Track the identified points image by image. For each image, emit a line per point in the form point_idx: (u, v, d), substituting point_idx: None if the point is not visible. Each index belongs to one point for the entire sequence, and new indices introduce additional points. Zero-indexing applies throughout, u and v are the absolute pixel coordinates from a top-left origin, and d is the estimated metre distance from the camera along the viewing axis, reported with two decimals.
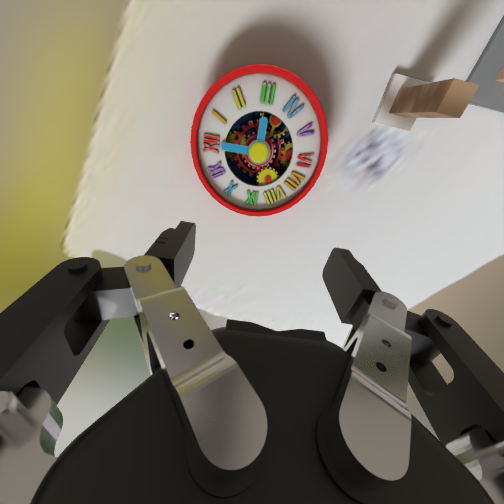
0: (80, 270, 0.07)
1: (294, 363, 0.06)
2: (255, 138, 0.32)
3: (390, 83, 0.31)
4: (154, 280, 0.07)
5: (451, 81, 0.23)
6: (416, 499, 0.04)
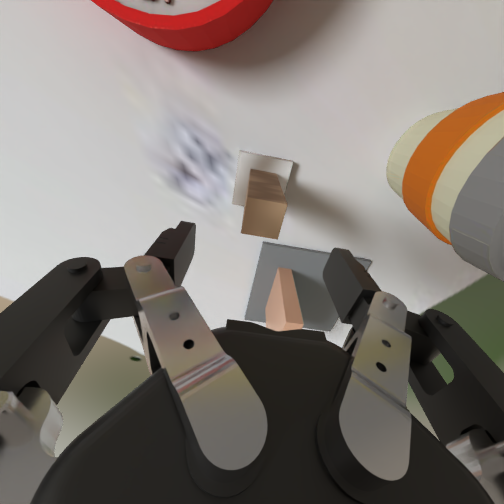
0: (80, 270, 0.07)
1: (294, 363, 0.06)
2: None
3: (282, 160, 0.24)
4: (154, 280, 0.07)
5: (283, 203, 0.16)
6: (416, 499, 0.04)
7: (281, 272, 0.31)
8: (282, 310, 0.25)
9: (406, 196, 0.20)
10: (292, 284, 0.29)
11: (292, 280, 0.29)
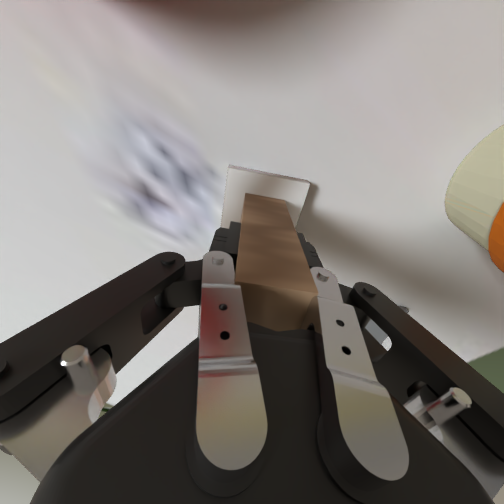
0: (172, 263, 0.08)
1: (294, 363, 0.06)
2: None
3: (294, 180, 0.15)
4: (232, 272, 0.08)
5: (310, 288, 0.08)
6: (416, 499, 0.04)
7: None
8: None
9: (500, 246, 0.12)
10: None
11: None
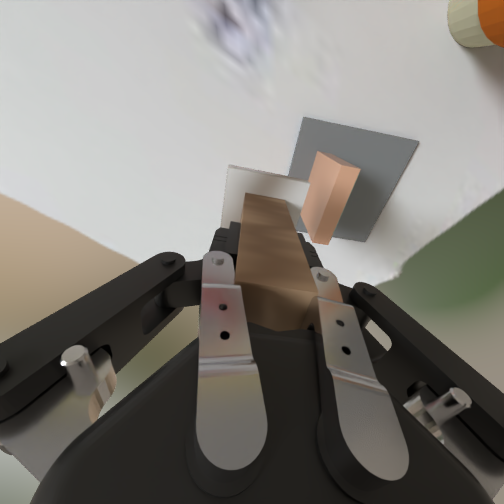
0: (172, 263, 0.08)
1: (294, 363, 0.06)
2: None
3: (294, 179, 0.15)
4: (232, 272, 0.08)
5: (310, 287, 0.08)
6: (416, 499, 0.04)
7: (322, 152, 0.28)
8: (332, 167, 0.23)
9: None
10: (337, 157, 0.27)
11: (335, 156, 0.27)
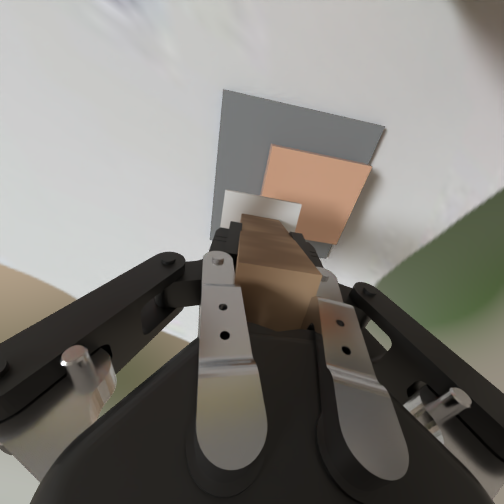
0: (172, 263, 0.08)
1: (294, 363, 0.06)
2: None
3: (287, 201, 0.17)
4: (232, 272, 0.08)
5: (313, 272, 0.08)
6: (416, 499, 0.04)
7: (284, 147, 0.20)
8: (347, 169, 0.21)
9: None
10: (303, 150, 0.22)
11: (296, 149, 0.22)
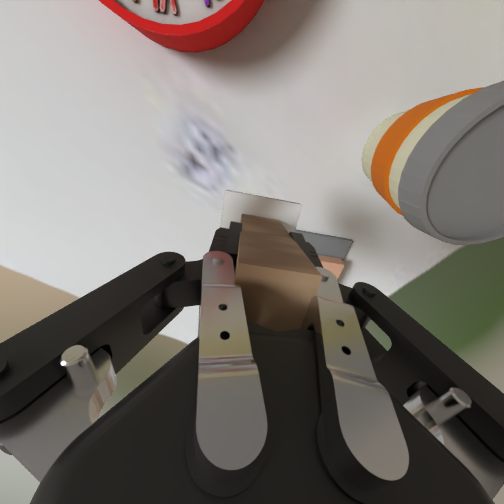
0: (172, 263, 0.08)
1: (294, 363, 0.06)
2: None
3: (287, 202, 0.17)
4: (232, 272, 0.08)
5: (313, 272, 0.08)
6: (416, 499, 0.04)
7: None
8: (330, 266, 0.36)
9: (373, 180, 0.25)
10: None
11: None
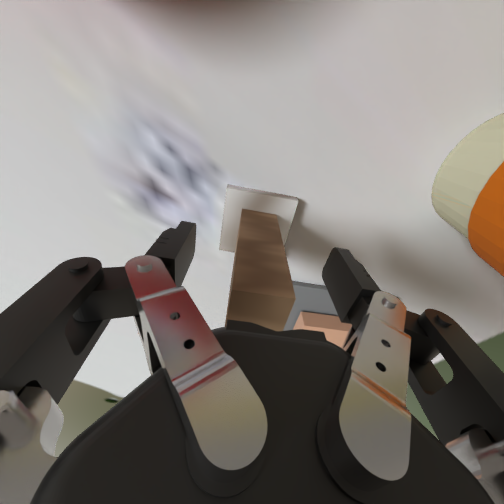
0: (81, 270, 0.07)
1: (294, 363, 0.06)
2: None
3: (285, 197, 0.18)
4: (155, 280, 0.07)
5: (290, 294, 0.10)
6: (416, 499, 0.04)
7: (313, 324, 0.23)
8: None
9: (478, 233, 0.14)
10: (329, 316, 0.25)
11: (323, 315, 0.25)
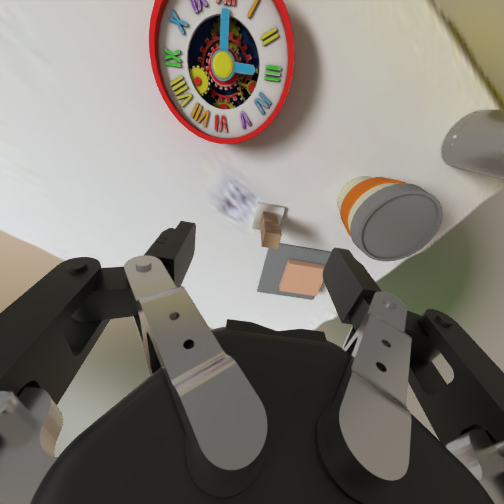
0: (80, 270, 0.07)
1: (294, 363, 0.06)
2: (235, 62, 0.31)
3: (279, 207, 0.46)
4: (154, 280, 0.07)
5: (280, 234, 0.38)
6: (416, 499, 0.04)
7: (293, 263, 0.52)
8: (318, 270, 0.52)
9: (342, 219, 0.42)
10: (301, 261, 0.53)
11: (298, 261, 0.53)
